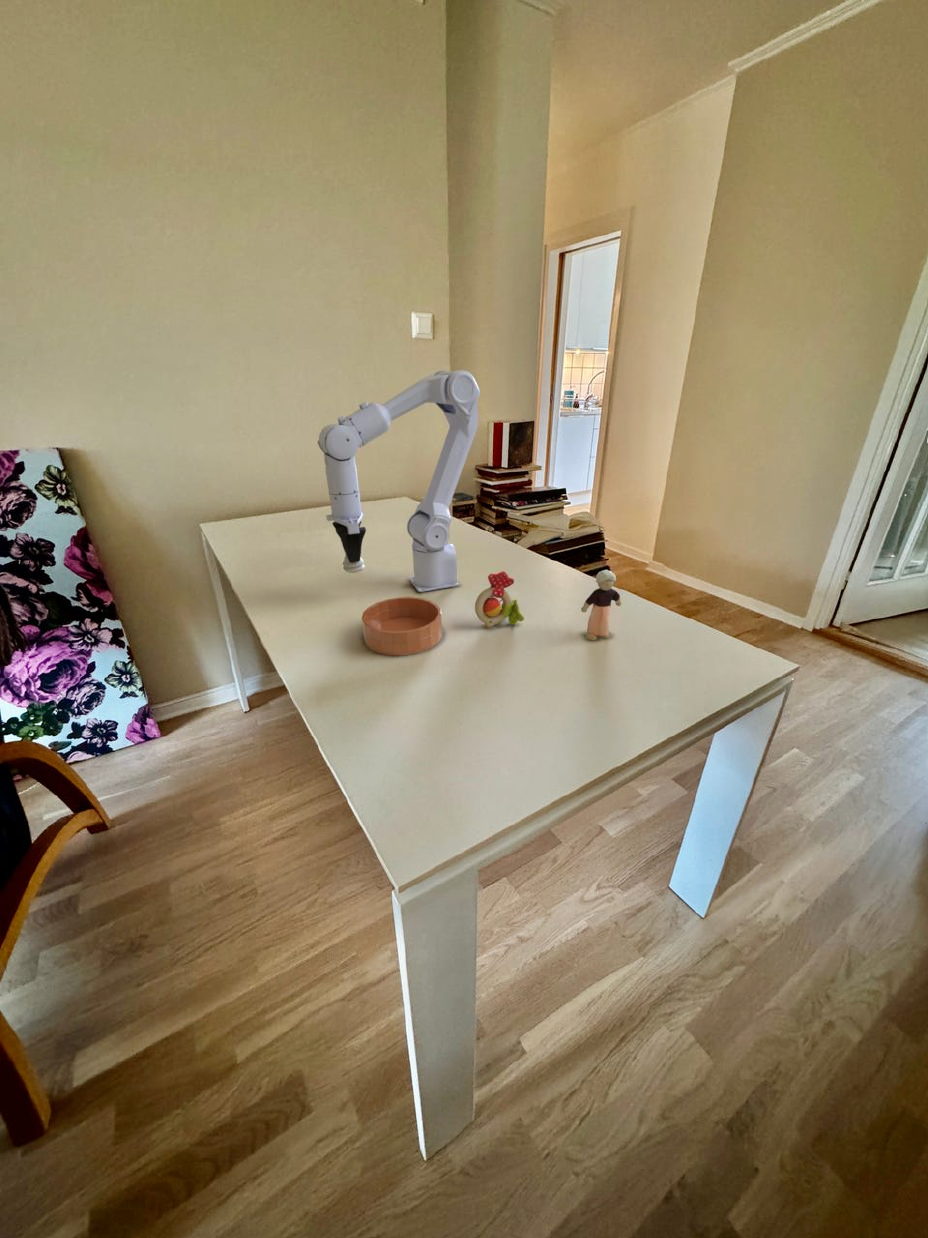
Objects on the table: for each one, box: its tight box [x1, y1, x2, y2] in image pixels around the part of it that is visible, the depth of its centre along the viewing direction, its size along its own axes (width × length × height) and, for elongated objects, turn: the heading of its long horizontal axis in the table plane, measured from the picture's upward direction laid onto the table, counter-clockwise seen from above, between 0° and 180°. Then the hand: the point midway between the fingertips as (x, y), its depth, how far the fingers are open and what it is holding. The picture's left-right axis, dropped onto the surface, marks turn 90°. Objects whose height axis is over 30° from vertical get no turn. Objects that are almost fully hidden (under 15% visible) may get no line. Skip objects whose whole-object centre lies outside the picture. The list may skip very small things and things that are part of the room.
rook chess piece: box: [342, 551, 366, 574], centre depth 98 cm, size 4×4×8 cm
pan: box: [361, 596, 443, 656], centre depth 88 cm, size 14×14×4 cm
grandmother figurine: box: [580, 569, 622, 641], centre depth 85 cm, size 8×4×13 cm, turn 117°
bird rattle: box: [474, 570, 525, 629], centre depth 89 cm, size 6×11×9 cm
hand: (353, 558), depth 99 cm, fingers closed on rook chess piece, 3 cm apart
